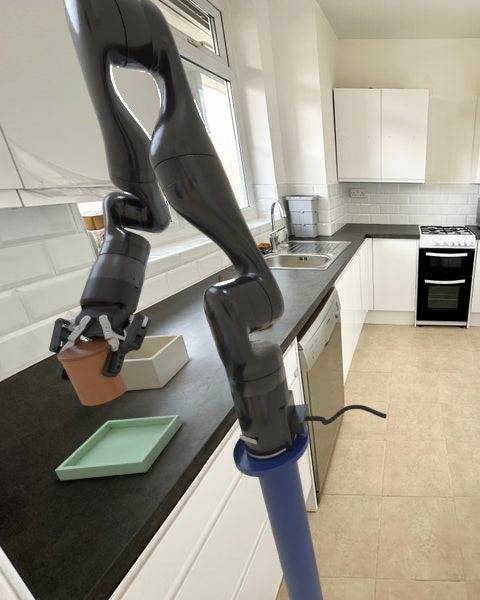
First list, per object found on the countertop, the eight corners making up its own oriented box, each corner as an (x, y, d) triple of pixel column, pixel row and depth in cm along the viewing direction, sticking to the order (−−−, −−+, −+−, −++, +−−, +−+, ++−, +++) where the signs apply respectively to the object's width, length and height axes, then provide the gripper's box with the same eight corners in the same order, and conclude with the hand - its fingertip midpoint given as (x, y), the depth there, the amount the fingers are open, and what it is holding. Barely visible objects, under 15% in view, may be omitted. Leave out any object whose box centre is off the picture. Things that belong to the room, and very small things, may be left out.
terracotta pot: (137, 381, 56) (120, 337, 53) (111, 404, 51) (90, 357, 47) (100, 384, 56) (80, 340, 53) (69, 408, 50) (44, 360, 47)
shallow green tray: (182, 423, 63) (179, 414, 62) (146, 472, 52) (141, 462, 51) (111, 429, 61) (107, 420, 61) (60, 480, 51) (54, 470, 50)
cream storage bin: (189, 359, 85) (182, 334, 83) (162, 387, 74) (151, 359, 71) (132, 363, 84) (123, 337, 81) (95, 393, 72) (82, 364, 70)
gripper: (52, 277, 53) (12, 377, 46) (143, 273, 54) (117, 370, 47) (90, 295, 60) (60, 385, 53) (170, 291, 61) (150, 378, 54)
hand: (87, 377), depth 50 cm, fingers closed on terracotta pot, 6 cm apart
